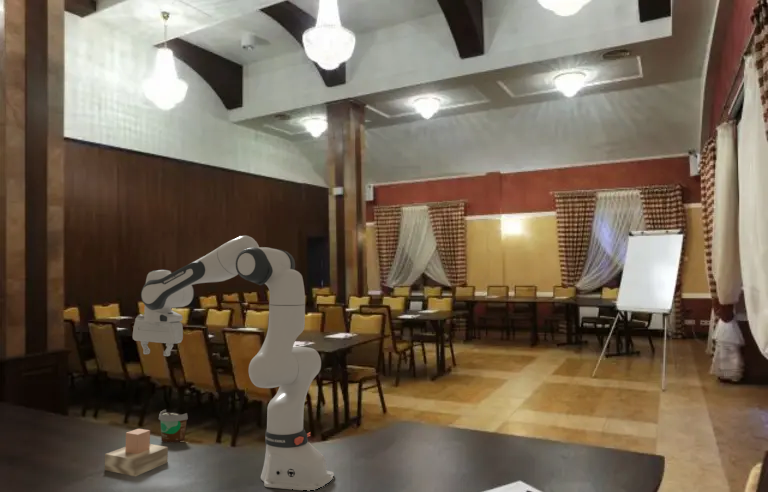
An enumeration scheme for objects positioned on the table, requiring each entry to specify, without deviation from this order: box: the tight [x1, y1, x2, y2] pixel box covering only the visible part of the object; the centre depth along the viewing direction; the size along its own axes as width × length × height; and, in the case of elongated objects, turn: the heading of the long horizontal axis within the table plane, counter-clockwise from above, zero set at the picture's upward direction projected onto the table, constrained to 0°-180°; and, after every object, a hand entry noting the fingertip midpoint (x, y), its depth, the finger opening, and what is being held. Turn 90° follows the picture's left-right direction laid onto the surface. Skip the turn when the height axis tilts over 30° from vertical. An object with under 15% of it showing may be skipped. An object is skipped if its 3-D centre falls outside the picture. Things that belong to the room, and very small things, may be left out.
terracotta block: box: [125, 428, 151, 454], centre depth 172 cm, size 5×5×6 cm
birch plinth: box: [104, 443, 169, 477], centre depth 172 cm, size 13×13×5 cm
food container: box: [158, 409, 189, 443], centre depth 198 cm, size 12×6×10 cm, turn 62°
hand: (156, 354), depth 189 cm, fingers open, 8 cm apart
